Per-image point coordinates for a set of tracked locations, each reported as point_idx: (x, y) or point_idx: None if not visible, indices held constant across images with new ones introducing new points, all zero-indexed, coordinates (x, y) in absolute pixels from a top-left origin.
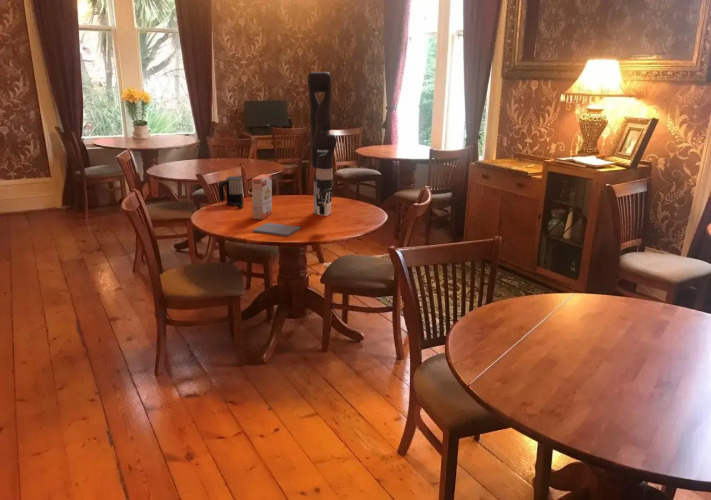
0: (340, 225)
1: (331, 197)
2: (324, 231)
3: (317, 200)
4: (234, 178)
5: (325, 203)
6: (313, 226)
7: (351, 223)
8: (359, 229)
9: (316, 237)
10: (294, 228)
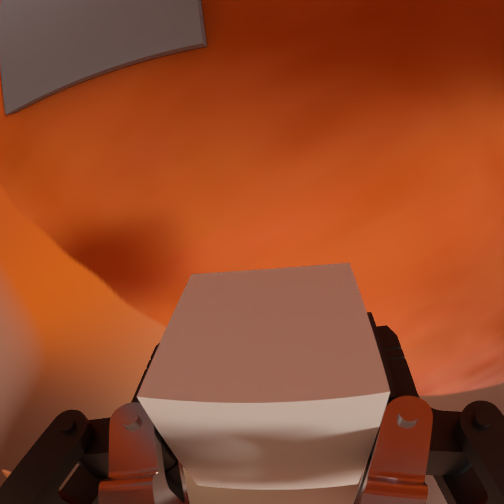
0: (454, 271)
1: (483, 491)
2: (258, 247)
3: (15, 486)
4: None
5: (288, 463)
6: (349, 95)
7: (501, 302)
8: None
9: (104, 268)
10: (132, 31)
